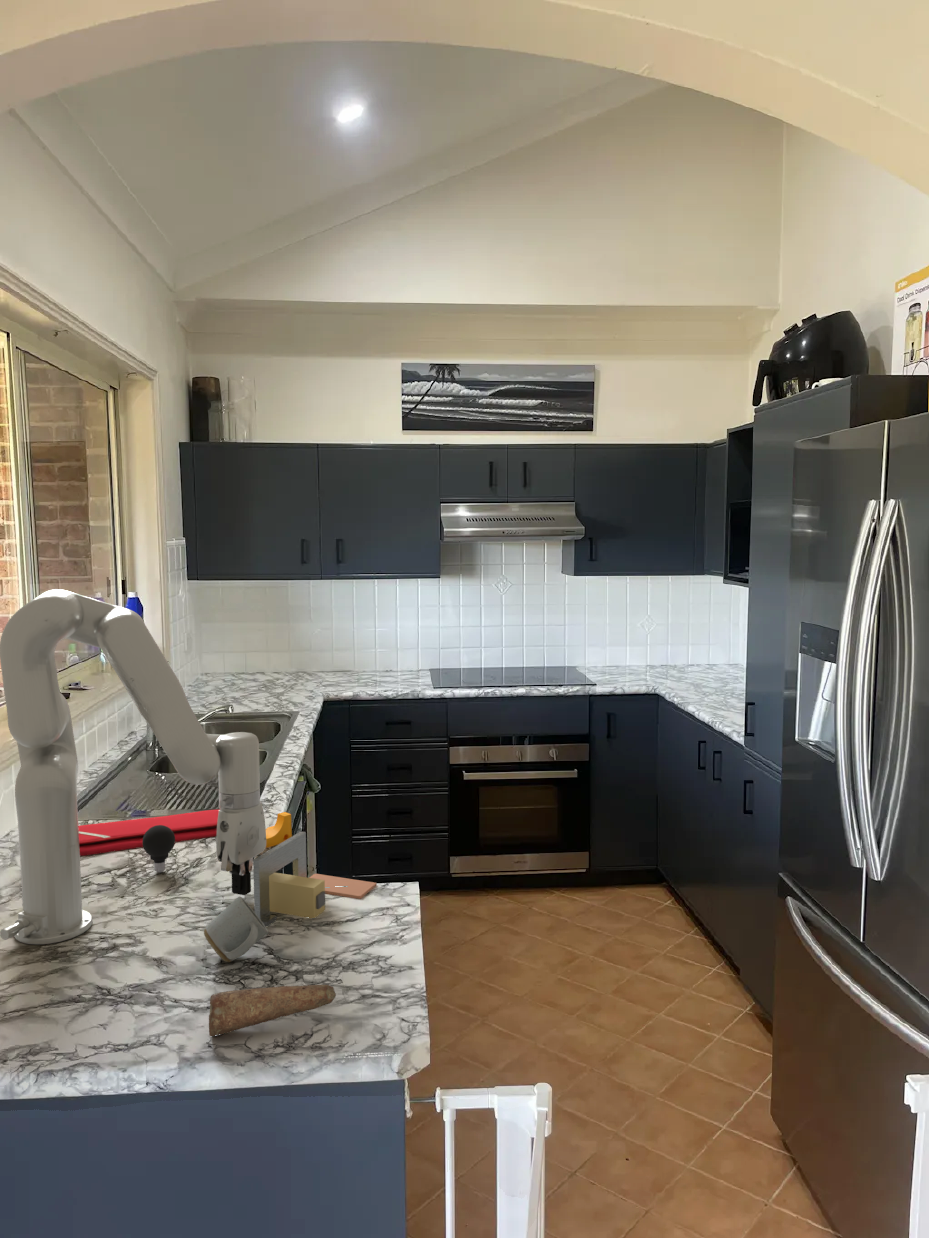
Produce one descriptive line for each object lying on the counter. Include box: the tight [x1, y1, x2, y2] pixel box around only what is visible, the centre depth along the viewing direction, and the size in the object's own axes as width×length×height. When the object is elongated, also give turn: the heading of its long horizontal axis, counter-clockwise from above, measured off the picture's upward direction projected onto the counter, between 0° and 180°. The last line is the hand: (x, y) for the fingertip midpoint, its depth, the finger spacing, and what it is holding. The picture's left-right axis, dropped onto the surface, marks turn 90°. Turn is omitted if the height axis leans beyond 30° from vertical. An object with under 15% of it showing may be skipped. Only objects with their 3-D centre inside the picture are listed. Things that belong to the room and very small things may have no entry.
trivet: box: [308, 873, 377, 900], centre depth 176 cm, size 7×14×1 cm, turn 69°
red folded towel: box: [78, 809, 220, 857], centre depth 207 cm, size 16×41×4 cm, turn 116°
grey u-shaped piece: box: [252, 831, 308, 927], centre depth 166 cm, size 16×4×12 cm, turn 159°
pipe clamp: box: [265, 811, 293, 849], centre depth 200 cm, size 12×4×6 cm, turn 136°
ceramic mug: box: [203, 895, 269, 963], centre depth 145 cm, size 11×8×8 cm
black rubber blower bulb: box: [142, 825, 176, 874], centre depth 184 cm, size 6×6×10 cm
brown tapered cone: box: [208, 984, 337, 1037], centre depth 127 cm, size 6×18×6 cm, turn 112°
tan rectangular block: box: [269, 872, 326, 919], centre depth 165 cm, size 4×12×6 cm, turn 69°
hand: (241, 892), depth 170 cm, fingers closed
